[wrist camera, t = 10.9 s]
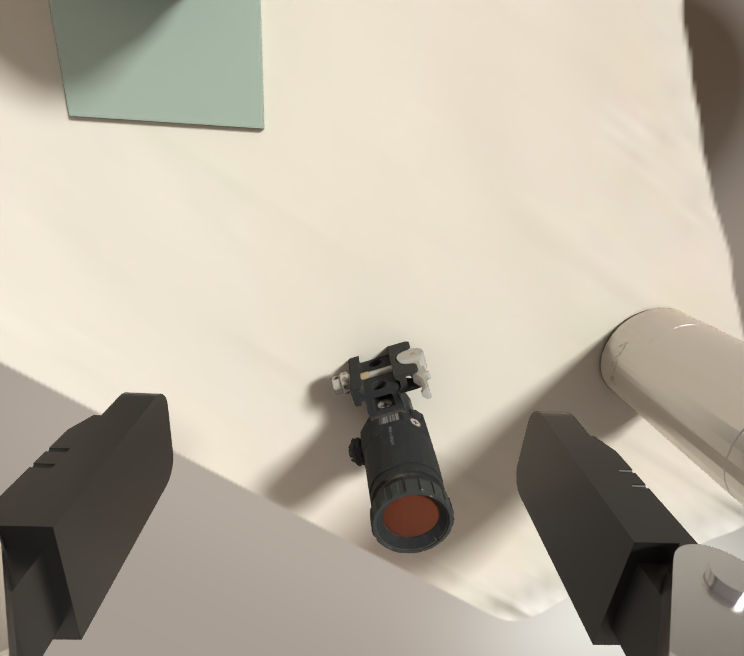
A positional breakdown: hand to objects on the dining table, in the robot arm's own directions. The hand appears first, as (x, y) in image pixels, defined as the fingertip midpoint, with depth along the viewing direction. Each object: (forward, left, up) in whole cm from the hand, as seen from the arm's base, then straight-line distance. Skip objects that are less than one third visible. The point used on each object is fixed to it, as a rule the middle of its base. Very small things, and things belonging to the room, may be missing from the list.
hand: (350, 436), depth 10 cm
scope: (-5, +15, -27) cm, 31 cm away
